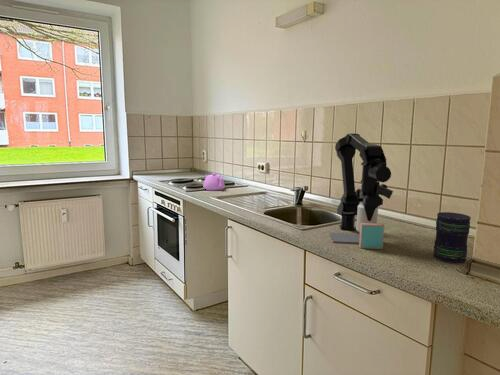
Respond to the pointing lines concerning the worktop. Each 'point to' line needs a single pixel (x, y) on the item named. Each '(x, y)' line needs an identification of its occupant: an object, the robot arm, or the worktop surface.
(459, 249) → the storage jar
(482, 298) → the worktop surface
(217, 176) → the teapot
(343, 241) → the mat
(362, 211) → the can
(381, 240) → the tile
